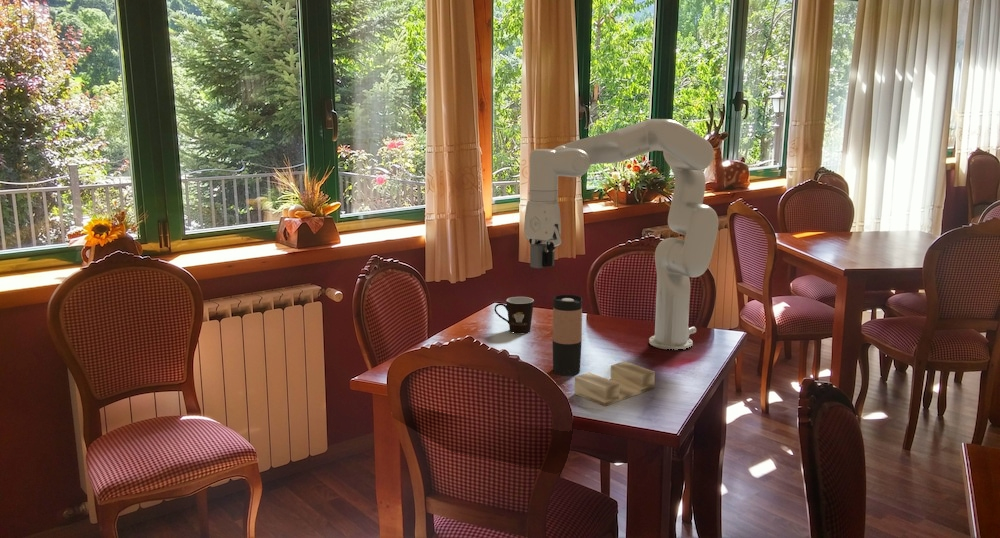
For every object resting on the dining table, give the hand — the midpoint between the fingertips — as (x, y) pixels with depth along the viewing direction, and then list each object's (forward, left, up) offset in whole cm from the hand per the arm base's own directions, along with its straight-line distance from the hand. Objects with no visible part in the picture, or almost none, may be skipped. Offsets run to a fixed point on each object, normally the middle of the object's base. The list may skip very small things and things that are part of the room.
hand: (542, 264), depth 202 cm
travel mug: (0, +10, -28) cm, 29 cm away
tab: (0, 0, 0) cm, 0 cm away
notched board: (+1, +28, -27) cm, 39 cm away
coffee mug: (-14, -27, -28) cm, 41 cm away
